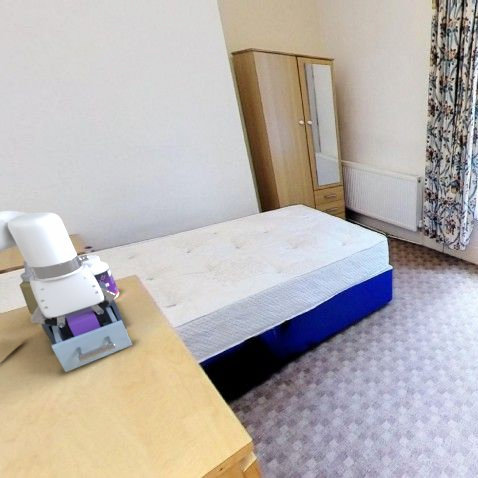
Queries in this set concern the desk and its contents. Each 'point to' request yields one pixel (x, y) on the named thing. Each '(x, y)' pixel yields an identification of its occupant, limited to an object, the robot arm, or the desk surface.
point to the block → (83, 322)
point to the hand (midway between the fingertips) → (87, 330)
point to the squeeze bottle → (28, 289)
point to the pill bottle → (102, 273)
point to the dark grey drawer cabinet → (112, 306)
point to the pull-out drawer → (90, 343)
